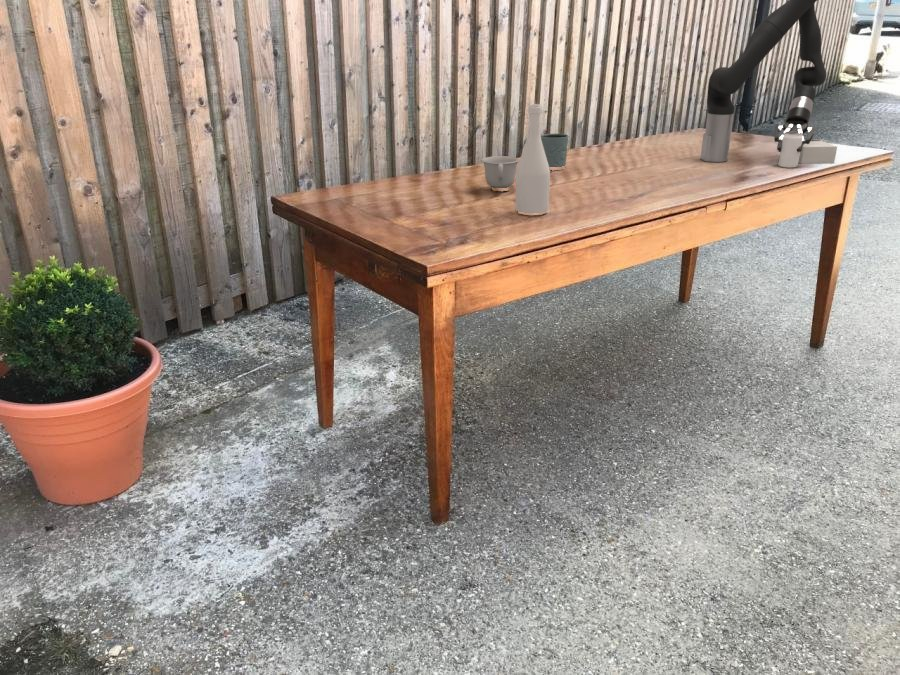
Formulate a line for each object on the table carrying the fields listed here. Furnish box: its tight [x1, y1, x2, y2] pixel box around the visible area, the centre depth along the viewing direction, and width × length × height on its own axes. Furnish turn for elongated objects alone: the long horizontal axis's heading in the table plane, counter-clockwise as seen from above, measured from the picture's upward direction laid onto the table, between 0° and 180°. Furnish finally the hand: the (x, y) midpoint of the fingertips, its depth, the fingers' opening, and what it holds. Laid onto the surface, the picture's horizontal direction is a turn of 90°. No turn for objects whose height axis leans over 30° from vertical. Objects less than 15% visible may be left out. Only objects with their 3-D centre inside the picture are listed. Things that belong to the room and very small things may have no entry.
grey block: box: [798, 140, 838, 165], centre depth 271 cm, size 12×12×6 cm
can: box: [778, 131, 804, 169], centre depth 260 cm, size 6×6×12 cm
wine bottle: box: [515, 103, 551, 213], centre depth 202 cm, size 10×10×30 cm
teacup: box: [481, 155, 520, 188], centre depth 232 cm, size 12×15×10 cm
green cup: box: [540, 133, 569, 167], centre depth 264 cm, size 10×10×12 cm
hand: (788, 151), depth 258 cm, fingers closed on can, 5 cm apart
